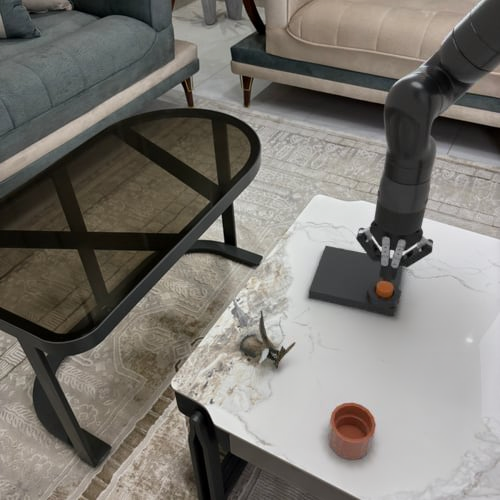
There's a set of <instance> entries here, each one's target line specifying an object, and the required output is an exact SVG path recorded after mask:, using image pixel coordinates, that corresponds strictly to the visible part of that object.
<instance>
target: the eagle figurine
mask: <svg viewBox="0 0 500 500" xmlns="http://www.w3.org/2000/svg"><path fill="white" fill-rule="evenodd" d="M258 330H259V335H260V339H261V340H260V339H259V338H258V336H257V334H256V333H254V334H252V333H251V334H247V335H245V336H244V337H243V338H242V339H241V342H240V344H239V349H240V350H241V351H242V352H244V353H245V354H246V355H247V356H248V357H249V358H251V359H256V358H257V357H260V360H258V364H263V362H264V361H265V360H266V359H269V360H271V361H272V363H273V364H272V365H273V366H275V369H278V368H279V364H280V362H281V361H282V360H283V358H284V357H285V356H286V355H288V353H289V352H290V351H291V350H292V349H293V348H294V346H295V345H296V342H295V341H293V343H291V344H290V345H288V347H286V348H285V347H284V345H281V347H280V348H279V349H276V345H275V344H274V342H272V341H271V340H270V339H269V337H268V334H267V330H266V326H265V320H264V315H263V309H260V318H259V324H258Z"/></svg>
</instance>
